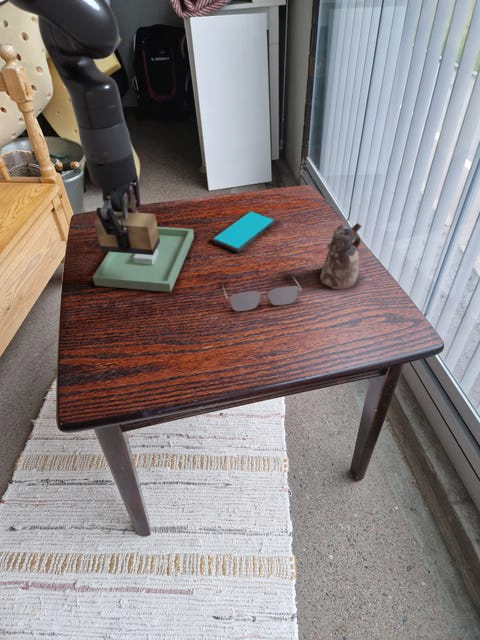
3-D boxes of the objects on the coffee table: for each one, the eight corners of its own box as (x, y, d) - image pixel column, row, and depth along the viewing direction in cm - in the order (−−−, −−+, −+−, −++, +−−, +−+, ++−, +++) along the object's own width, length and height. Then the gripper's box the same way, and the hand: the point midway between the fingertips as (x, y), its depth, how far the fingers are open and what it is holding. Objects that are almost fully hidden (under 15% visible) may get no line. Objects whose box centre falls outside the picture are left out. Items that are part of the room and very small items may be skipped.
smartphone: (211, 238, 93) (250, 210, 102) (211, 242, 94) (250, 213, 102) (238, 249, 90) (276, 219, 99) (238, 253, 91) (275, 222, 99)
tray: (95, 285, 84) (92, 277, 82) (128, 232, 97) (126, 224, 96) (170, 292, 82) (169, 283, 80) (194, 237, 96) (193, 229, 94)
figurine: (315, 269, 86) (322, 217, 78) (348, 265, 87) (358, 213, 79) (327, 291, 81) (336, 238, 73) (362, 286, 82) (374, 233, 74)
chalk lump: (134, 263, 88) (133, 257, 87) (140, 252, 90) (139, 246, 89) (152, 265, 87) (151, 259, 86) (158, 254, 90) (157, 248, 89)
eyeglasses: (228, 313, 77) (226, 295, 75) (220, 288, 83) (219, 271, 81) (300, 302, 79) (302, 284, 76) (288, 279, 85) (289, 262, 82)
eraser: (101, 251, 79) (93, 223, 75) (110, 238, 82) (103, 210, 78) (153, 255, 78) (147, 226, 73) (160, 241, 81) (155, 213, 77)
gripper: (102, 132, 73) (124, 219, 84) (66, 168, 62) (96, 262, 74) (144, 134, 72) (160, 222, 84) (114, 171, 62) (136, 265, 73)
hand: (129, 240), depth 79 cm, fingers closed on eraser, 4 cm apart
